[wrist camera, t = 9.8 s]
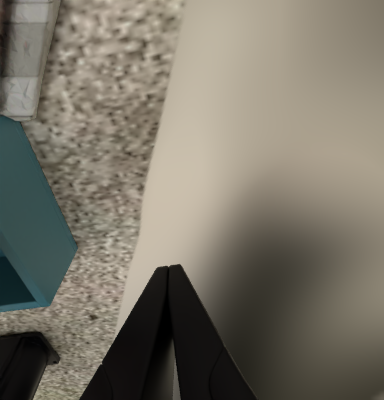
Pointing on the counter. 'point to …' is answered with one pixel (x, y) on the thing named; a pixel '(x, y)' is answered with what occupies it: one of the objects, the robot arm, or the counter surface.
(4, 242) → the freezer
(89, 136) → the counter surface
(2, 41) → the packaged product
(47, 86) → the counter surface
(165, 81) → the counter surface
